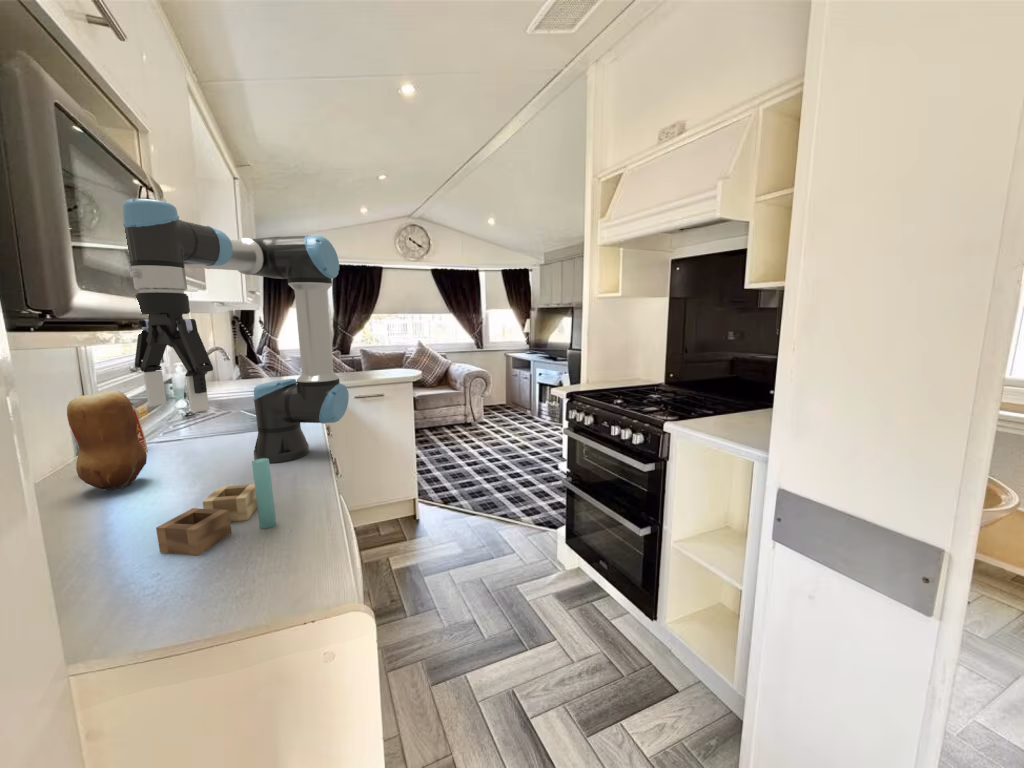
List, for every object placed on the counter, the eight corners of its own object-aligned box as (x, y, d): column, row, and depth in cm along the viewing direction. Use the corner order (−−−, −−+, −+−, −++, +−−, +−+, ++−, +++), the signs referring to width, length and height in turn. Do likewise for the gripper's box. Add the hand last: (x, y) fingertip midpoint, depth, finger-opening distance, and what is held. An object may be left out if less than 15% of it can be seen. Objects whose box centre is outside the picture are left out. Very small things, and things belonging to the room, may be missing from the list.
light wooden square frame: (221, 507, 100) (219, 486, 99) (260, 504, 101) (257, 483, 101) (205, 524, 92) (202, 501, 91) (247, 519, 94) (245, 497, 93)
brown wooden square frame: (196, 531, 89) (192, 508, 88) (231, 533, 88) (228, 510, 87) (160, 552, 81) (155, 527, 80) (198, 555, 80) (194, 529, 79)
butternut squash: (81, 488, 112) (63, 392, 108) (148, 473, 121) (134, 384, 117) (81, 504, 102) (61, 399, 98) (154, 487, 112) (139, 391, 107)
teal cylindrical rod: (266, 521, 93) (258, 458, 91) (279, 521, 93) (272, 458, 90) (256, 528, 90) (248, 463, 88) (269, 528, 90) (262, 463, 87)
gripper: (100, 293, 81) (118, 406, 84) (179, 289, 70) (196, 418, 74) (147, 294, 87) (162, 399, 91) (226, 290, 77) (240, 409, 80)
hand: (178, 408), depth 82 cm, fingers open, 13 cm apart
